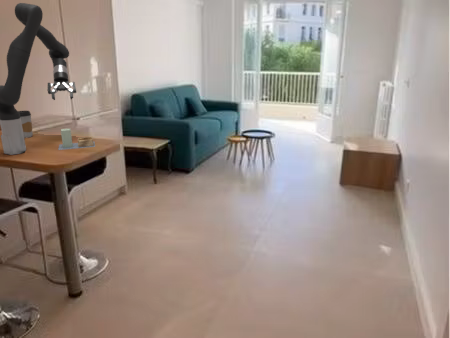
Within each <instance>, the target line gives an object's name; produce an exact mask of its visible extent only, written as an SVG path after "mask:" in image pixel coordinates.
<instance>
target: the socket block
mask: <svg viewBox="0 0 450 338" xmlns="http://www.w3.org/2000/svg"><path fill="white" fill-rule="evenodd" d="M93 142H94V137H93V136H85V137H78V138H77V143H78V147H86V146H94V143H93Z"/></svg>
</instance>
